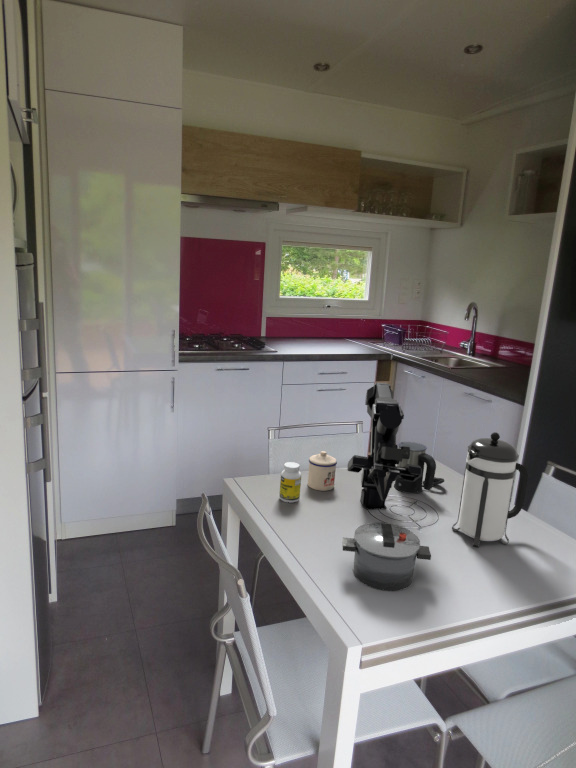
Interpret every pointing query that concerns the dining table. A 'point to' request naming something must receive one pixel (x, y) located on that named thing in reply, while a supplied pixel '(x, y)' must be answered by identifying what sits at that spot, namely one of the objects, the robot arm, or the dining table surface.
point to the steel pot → (384, 567)
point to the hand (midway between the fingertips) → (383, 500)
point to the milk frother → (419, 458)
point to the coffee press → (490, 489)
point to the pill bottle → (290, 483)
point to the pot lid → (387, 540)
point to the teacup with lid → (321, 471)
